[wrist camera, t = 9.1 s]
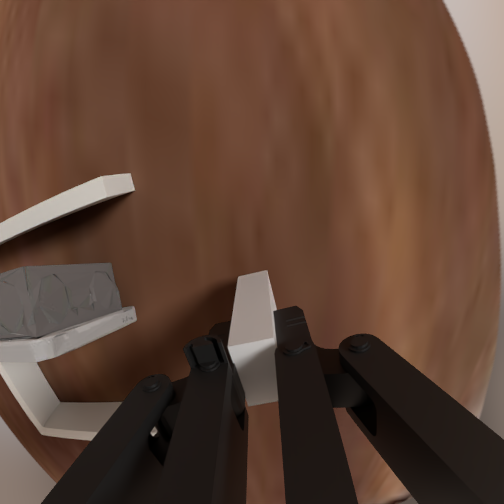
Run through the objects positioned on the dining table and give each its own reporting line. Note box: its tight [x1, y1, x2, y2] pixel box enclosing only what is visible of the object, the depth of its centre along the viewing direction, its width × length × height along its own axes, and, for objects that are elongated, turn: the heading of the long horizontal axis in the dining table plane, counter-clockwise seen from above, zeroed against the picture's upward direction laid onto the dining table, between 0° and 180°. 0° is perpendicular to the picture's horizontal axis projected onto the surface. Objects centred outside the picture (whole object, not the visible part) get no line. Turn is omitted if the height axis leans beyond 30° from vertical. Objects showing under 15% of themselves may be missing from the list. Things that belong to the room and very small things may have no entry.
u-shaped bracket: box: [0, 173, 157, 440], centre depth 17 cm, size 16×15×4 cm
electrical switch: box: [0, 263, 137, 362], centre depth 14 cm, size 9×5×9 cm, turn 102°
